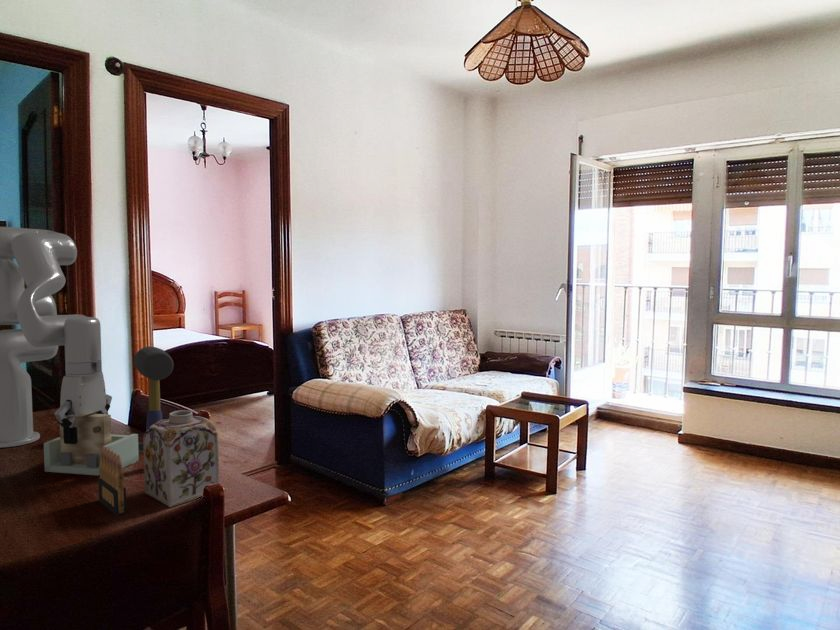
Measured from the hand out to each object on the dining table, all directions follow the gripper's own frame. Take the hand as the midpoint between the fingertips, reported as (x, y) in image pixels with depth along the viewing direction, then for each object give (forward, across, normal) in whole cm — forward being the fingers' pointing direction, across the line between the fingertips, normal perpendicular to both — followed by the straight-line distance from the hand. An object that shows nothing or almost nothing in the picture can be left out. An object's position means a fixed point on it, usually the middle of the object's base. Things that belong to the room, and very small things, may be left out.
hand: (86, 437), depth 135 cm
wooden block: (+6, 0, 0) cm, 6 cm away
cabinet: (+8, -2, 0) cm, 8 cm away
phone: (+8, -14, 0) cm, 16 cm away
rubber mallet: (+8, -4, +16) cm, 18 cm away
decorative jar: (+8, +10, +31) cm, 33 cm away
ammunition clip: (+8, +18, +21) cm, 29 cm away
